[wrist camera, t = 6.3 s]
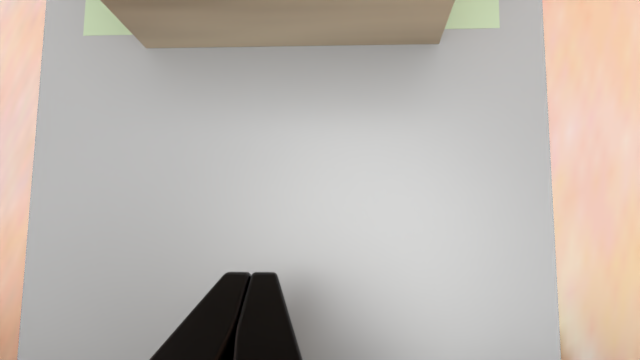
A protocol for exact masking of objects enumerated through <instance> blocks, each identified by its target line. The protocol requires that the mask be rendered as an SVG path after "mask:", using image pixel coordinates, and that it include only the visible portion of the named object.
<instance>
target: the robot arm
mask: <svg viewBox="0 0 640 360" xmlns="http://www.w3.org/2000/svg"><path fill="white" fill-rule="evenodd" d="M149 360H303V359H302V355H301V352H300V348H299V345H298V342H297V338H296V335H295V332H294V328H293V325H292V322H291V318H290V315H289V312H288V308H287V305H286V302H285V298H284V295H283V291H282V288H281V285H280V281H279V278H278V275H277V274H276V273H275V272H254V273H253V274H252V275H251V274H250V273H249V272H227V273H225V274H224V275H223V276H222V277H221V278H220V279H219V280H218V281H217V283H216V284H215V285H214V286H213V287H212V288H211V289H210V291H209V292H208V293H207V294H206V295H205V296H204V297H203V299H202V300H201V301H200V302H199V303H198V304H197V305H196V307H195V308H194V309H193V310H192V311H191V312H190V313H189V315H188V316H187V317H186V318H185V319H184V320H183V321H182V323H181V324H180V325H179V326H178V327H177V328H176V329H175V331H174V332H173V333H172V334H171V335H170V336H169V337H168V339H167V340H166V341H165V342H164V343H163V344H162V345H161V347H160V348H159V349H158V350H157V351H156V352H155V353H154V355H153V356H152V357H151V358H150V359H149Z"/></svg>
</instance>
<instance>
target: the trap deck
mask: <svg viewBox="0 0 640 360" xmlns="http://www.w3.org/2000/svg"><path fill="white" fill-rule="evenodd" d="M227 272H249V273H250V274H251V275H252V274H253V273H254V272H275V273H276V274H277V275H278V278H279V281H280V285H281V288H282V291H283V295H284V298H285V302H286V305H287V308H288V312H289V315H290V318H291V322H292V325H293V328H294V332H295V335H296V338H297V342H298V345H299V348H300V352H301V355H302V359H303V360H561V349H560V331H559V312H558V293H557V274H556V255H555V236H554V217H553V198H552V179H551V160H550V141H549V123H548V104H547V85H546V66H545V47H544V28H543V9H542V0H455V2H454V4H453V7H452V10H451V13H450V15H449V18H448V21H447V24H446V26H445V29H444V32H443V34H442V37H441V40H440V43H439V44H404V45H335V46H267V47H198V48H145V47H144V46H143V45H142V43H141V42H140V41H139V40H138V39H137V38H136V37H135V36H134V35H133V34H132V33H131V32H130V31H129V30H128V29H127V28H126V27H125V26H124V25H123V24H122V23H121V21H120V20H119V19H118V18H117V17H116V16H115V15H114V14H113V13H112V12H111V11H110V10H109V9H108V8H107V7H106V6H105V5H104V4H103V3H102V2H101V1H100V0H47V1H46V13H45V26H44V38H43V50H42V63H41V75H40V87H39V100H38V112H37V124H36V136H35V149H34V161H33V173H32V186H31V198H30V210H29V223H28V235H27V247H26V259H25V272H24V284H23V296H22V309H21V321H20V333H19V345H18V358H17V360H149V359H150V358H151V357H152V356H153V355H154V353H155V352H156V351H157V350H158V349H159V348H160V347H161V345H162V344H163V343H164V342H165V341H166V340H167V339H168V337H169V336H170V335H171V334H172V333H173V332H174V331H175V329H176V328H177V327H178V326H179V325H180V324H181V323H182V321H183V320H184V319H185V318H186V317H187V316H188V315H189V313H190V312H191V311H192V310H193V309H194V308H195V307H196V305H197V304H198V303H199V302H200V301H201V300H202V299H203V297H204V296H205V295H206V294H207V293H208V292H209V291H210V289H211V288H212V287H213V286H214V285H215V284H216V283H217V281H218V280H219V279H220V278H221V277H222V276H223V275H224V274H225V273H227Z"/></svg>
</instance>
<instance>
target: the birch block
mask: <svg viewBox="0 0 640 360" xmlns="http://www.w3.org/2000/svg"><path fill="white" fill-rule="evenodd" d="M100 1H101V2H102V3H103V4H104V5H105V6H106V7H107V8H108V9H109V10H110V11H111V12H112V13H113V14H114V15H115V16H116V17H117V18H118V19H119V20H120V21H121V23H122V24H123V25H124V26H125V27H126V28H127V29H128V30H129V31H130V32H131V33H132V34H133V35H134V36H135V37H136V38H137V39H138V40H139V41H140V42H141V43H142V45H143V46H144V47H145V48H198V47H267V46H335V45H404V44H439V43H440V40H441V37H442V34H443V32H444V29H445V26H446V24H447V21H448V18H449V15H450V13H451V10H452V7H453V4H454V2H455V0H100Z"/></svg>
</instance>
